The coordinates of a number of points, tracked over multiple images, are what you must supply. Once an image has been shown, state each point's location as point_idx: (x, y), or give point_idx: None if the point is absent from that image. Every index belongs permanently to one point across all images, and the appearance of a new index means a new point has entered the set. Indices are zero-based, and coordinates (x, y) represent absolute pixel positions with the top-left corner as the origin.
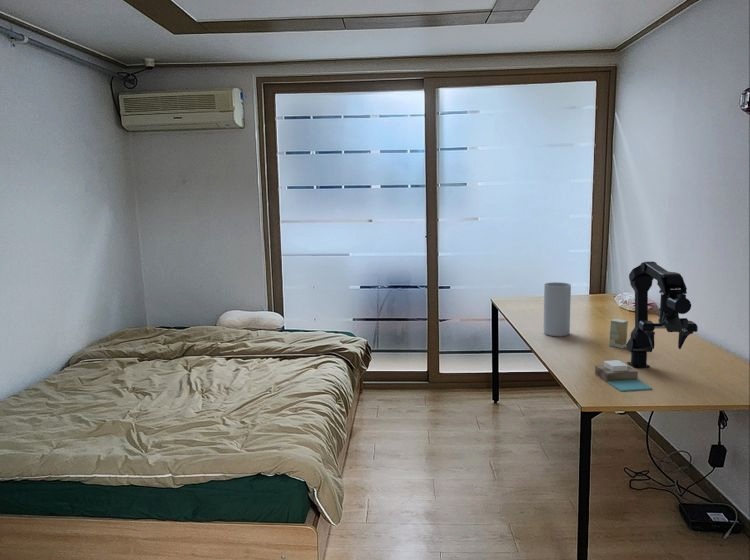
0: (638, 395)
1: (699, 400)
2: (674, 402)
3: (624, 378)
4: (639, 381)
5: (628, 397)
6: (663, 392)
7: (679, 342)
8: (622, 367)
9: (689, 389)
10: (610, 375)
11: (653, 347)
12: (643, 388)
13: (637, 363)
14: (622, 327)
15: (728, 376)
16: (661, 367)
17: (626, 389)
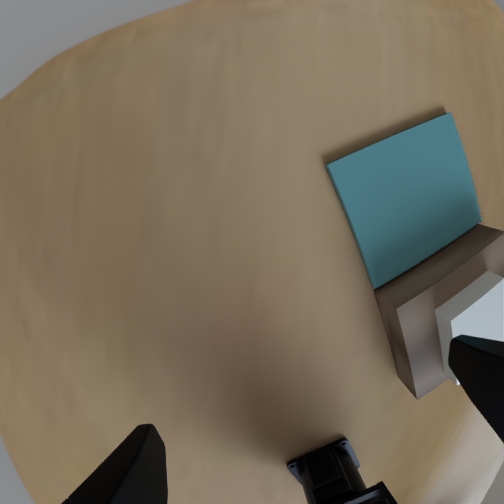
0: (386, 69)
1: (110, 65)
2: (234, 5)
3: (433, 262)
4: (373, 260)
5: (418, 46)
6: (272, 130)
7: (148, 502)
8: (465, 301)
9: (132, 223)
10: (490, 236)
11: (467, 339)
12: (368, 149)
13: (338, 457)
14: None
15: (22, 420)
16: (242, 471)
17: (433, 123)
